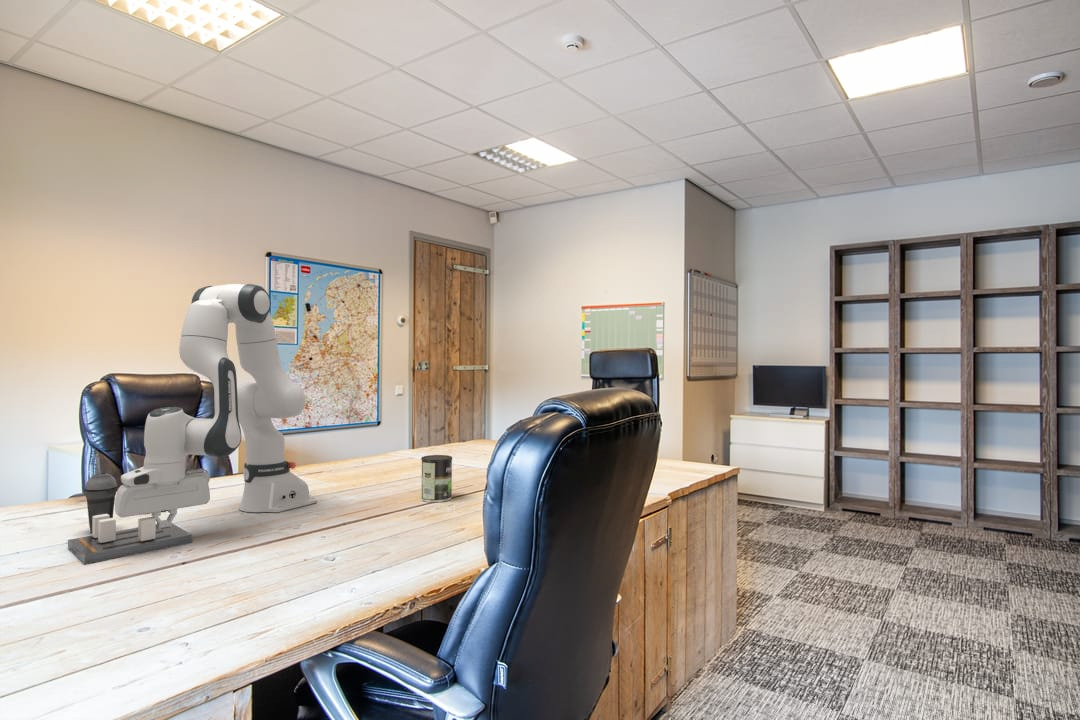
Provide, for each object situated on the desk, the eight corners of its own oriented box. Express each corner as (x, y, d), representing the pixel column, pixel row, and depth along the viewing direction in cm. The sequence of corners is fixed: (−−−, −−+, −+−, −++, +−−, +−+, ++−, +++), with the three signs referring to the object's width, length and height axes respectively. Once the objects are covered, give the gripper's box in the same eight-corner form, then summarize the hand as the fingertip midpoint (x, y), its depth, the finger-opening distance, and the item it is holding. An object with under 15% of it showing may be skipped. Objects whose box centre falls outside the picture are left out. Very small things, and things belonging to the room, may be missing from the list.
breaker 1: (106, 533, 149) (107, 513, 149) (109, 535, 147) (109, 515, 147) (92, 536, 147) (92, 516, 147) (94, 538, 145) (94, 517, 145)
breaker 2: (112, 538, 145) (113, 517, 145) (115, 540, 144) (115, 519, 144) (98, 540, 143) (98, 520, 143) (100, 542, 141) (100, 522, 141)
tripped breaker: (152, 536, 147) (152, 516, 147) (155, 538, 145) (155, 518, 145) (138, 539, 145) (138, 518, 145) (141, 541, 143) (141, 520, 143)
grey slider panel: (169, 529, 161) (169, 521, 161) (192, 542, 150) (192, 534, 150) (67, 548, 144) (67, 539, 144) (84, 564, 133) (84, 555, 133)
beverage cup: (99, 536, 154) (100, 459, 154) (76, 534, 156) (77, 458, 156) (124, 528, 161) (124, 455, 161) (102, 526, 163) (102, 454, 163)
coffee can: (454, 495, 204) (454, 454, 204) (449, 502, 193) (449, 459, 193) (424, 495, 204) (424, 454, 204) (417, 502, 194) (418, 459, 194)
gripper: (205, 465, 157) (204, 517, 157) (113, 476, 142) (112, 534, 142) (214, 468, 153) (213, 522, 153) (120, 480, 138) (119, 539, 138)
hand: (164, 528), depth 148 cm, fingers closed
